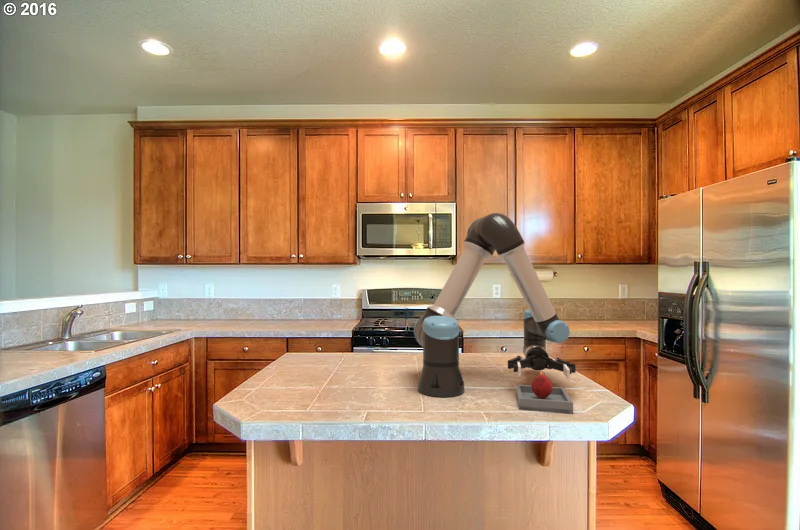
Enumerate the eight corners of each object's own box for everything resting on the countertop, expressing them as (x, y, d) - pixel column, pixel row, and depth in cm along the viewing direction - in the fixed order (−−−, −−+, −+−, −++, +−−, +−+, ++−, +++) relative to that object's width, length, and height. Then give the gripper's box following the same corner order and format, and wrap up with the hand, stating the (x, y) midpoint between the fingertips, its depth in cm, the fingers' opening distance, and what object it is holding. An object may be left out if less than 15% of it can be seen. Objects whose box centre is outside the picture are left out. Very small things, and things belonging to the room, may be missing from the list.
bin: (573, 413, 103) (573, 402, 103) (519, 409, 107) (519, 398, 107) (564, 397, 117) (563, 387, 117) (516, 394, 120) (516, 384, 120)
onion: (550, 404, 108) (550, 375, 108) (529, 400, 111) (529, 373, 111) (554, 398, 113) (554, 371, 113) (534, 395, 116) (533, 368, 116)
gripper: (575, 370, 131) (589, 388, 110) (500, 366, 137) (500, 382, 116) (575, 348, 131) (589, 362, 110) (500, 345, 137) (500, 357, 116)
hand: (543, 372), depth 113 cm, fingers open, 13 cm apart
